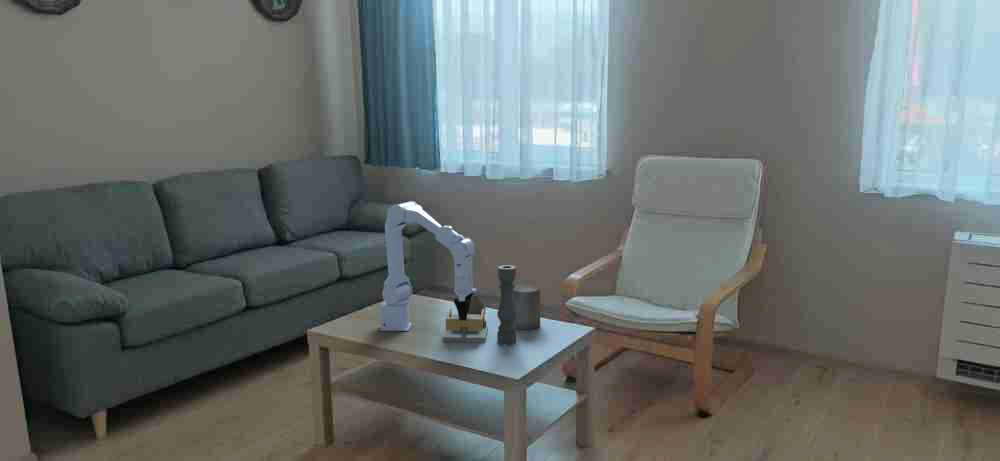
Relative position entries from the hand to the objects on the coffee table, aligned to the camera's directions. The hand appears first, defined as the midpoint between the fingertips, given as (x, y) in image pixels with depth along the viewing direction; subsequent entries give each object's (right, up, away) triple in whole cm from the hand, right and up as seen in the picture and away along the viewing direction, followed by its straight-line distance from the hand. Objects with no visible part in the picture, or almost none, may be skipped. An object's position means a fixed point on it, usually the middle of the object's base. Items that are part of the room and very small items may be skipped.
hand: (464, 316), depth 248 cm
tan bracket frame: (0, -4, +5) cm, 7 cm away
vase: (+3, -4, +23) cm, 24 cm away
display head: (0, -7, +6) cm, 9 cm away
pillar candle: (+21, -5, +16) cm, 27 cm away
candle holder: (+14, -8, 0) cm, 16 cm away
